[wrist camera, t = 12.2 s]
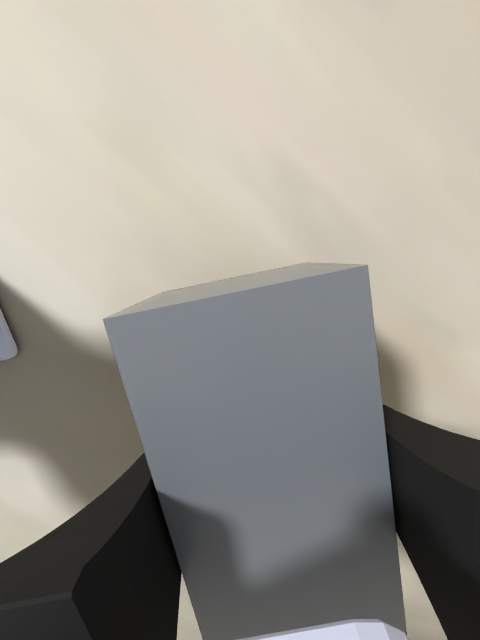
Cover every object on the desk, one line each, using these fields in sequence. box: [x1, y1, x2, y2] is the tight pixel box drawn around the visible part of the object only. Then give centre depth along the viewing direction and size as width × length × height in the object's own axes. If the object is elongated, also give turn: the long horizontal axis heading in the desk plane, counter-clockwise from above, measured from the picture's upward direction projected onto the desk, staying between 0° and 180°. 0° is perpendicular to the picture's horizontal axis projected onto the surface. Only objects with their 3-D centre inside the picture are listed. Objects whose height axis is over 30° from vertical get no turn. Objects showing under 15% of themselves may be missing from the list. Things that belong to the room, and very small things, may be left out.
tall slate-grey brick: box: [103, 263, 407, 640], centre depth 10 cm, size 6×12×6 cm, turn 11°
